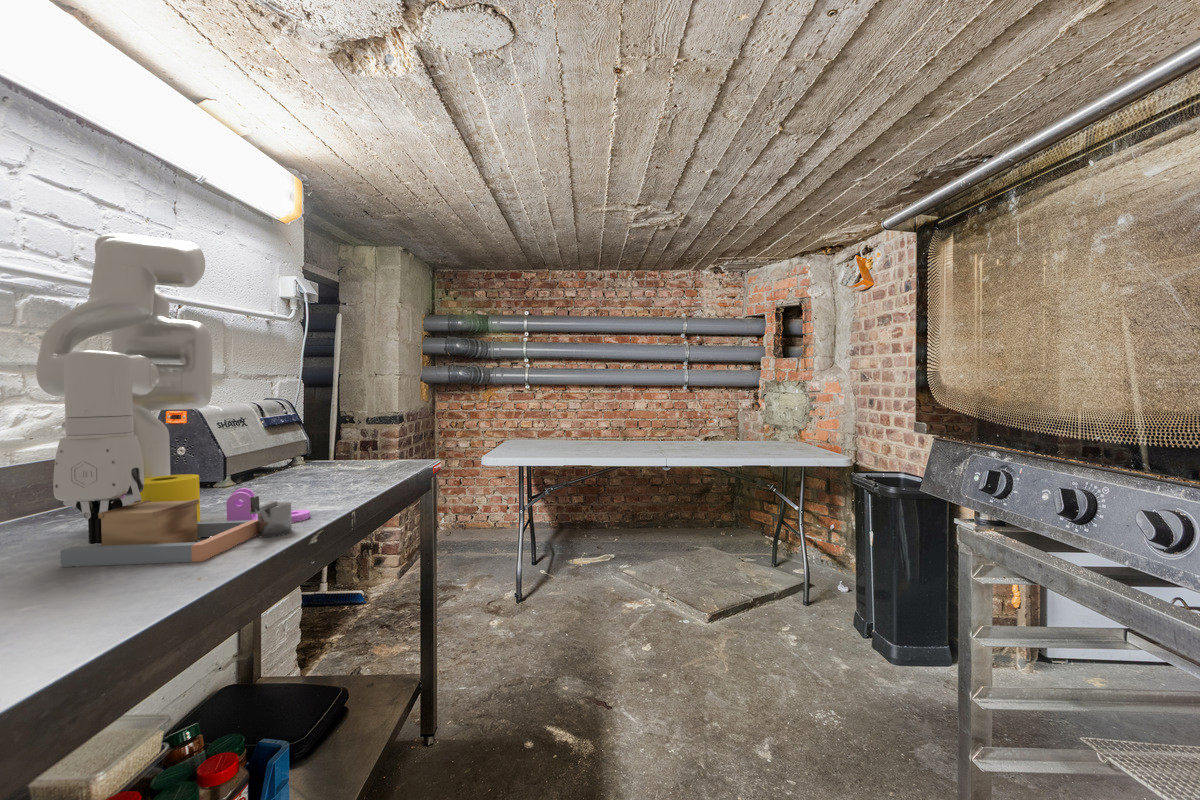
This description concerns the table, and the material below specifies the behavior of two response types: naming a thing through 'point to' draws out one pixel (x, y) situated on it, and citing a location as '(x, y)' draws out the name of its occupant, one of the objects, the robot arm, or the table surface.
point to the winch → (272, 517)
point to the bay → (165, 547)
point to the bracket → (242, 508)
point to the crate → (150, 523)
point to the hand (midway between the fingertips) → (104, 540)
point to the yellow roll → (172, 489)
